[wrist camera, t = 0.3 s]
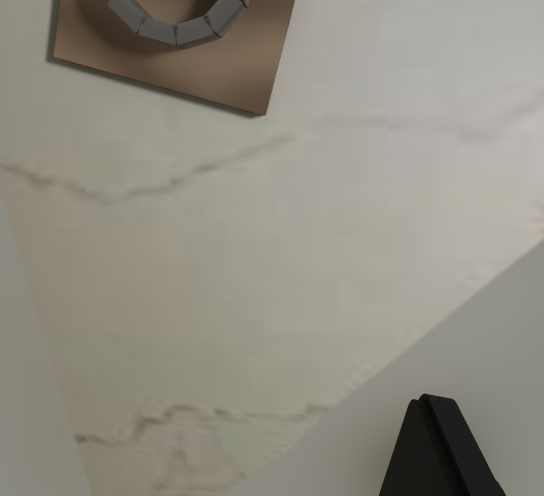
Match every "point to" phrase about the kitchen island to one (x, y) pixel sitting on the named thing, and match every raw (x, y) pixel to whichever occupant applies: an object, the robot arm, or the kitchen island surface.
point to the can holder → (181, 44)
